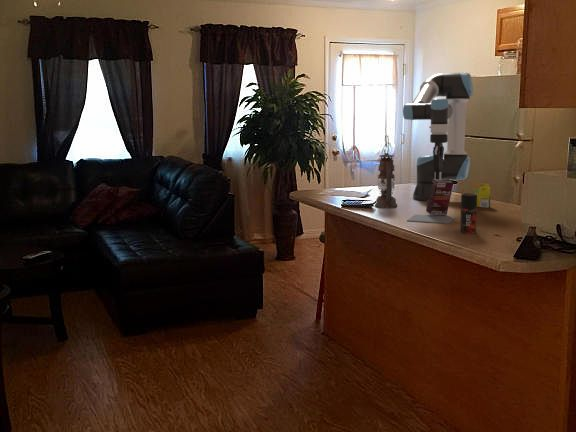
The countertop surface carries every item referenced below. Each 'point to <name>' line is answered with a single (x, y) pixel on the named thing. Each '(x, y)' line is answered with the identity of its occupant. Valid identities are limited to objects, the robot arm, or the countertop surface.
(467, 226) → the deodorant
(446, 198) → the supplement box
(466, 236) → the countertop surface
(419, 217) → the mat
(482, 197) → the crayon box
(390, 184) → the lantern
